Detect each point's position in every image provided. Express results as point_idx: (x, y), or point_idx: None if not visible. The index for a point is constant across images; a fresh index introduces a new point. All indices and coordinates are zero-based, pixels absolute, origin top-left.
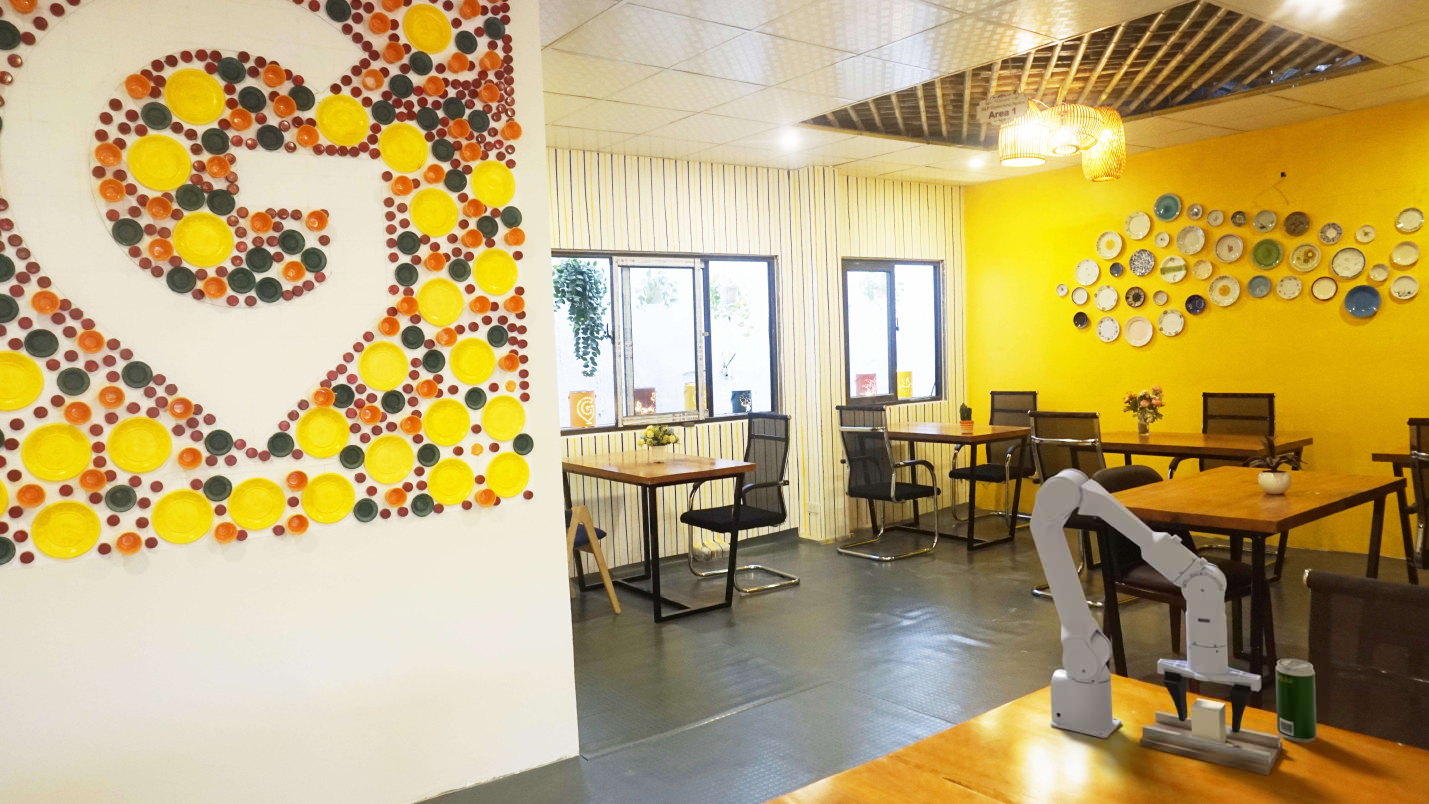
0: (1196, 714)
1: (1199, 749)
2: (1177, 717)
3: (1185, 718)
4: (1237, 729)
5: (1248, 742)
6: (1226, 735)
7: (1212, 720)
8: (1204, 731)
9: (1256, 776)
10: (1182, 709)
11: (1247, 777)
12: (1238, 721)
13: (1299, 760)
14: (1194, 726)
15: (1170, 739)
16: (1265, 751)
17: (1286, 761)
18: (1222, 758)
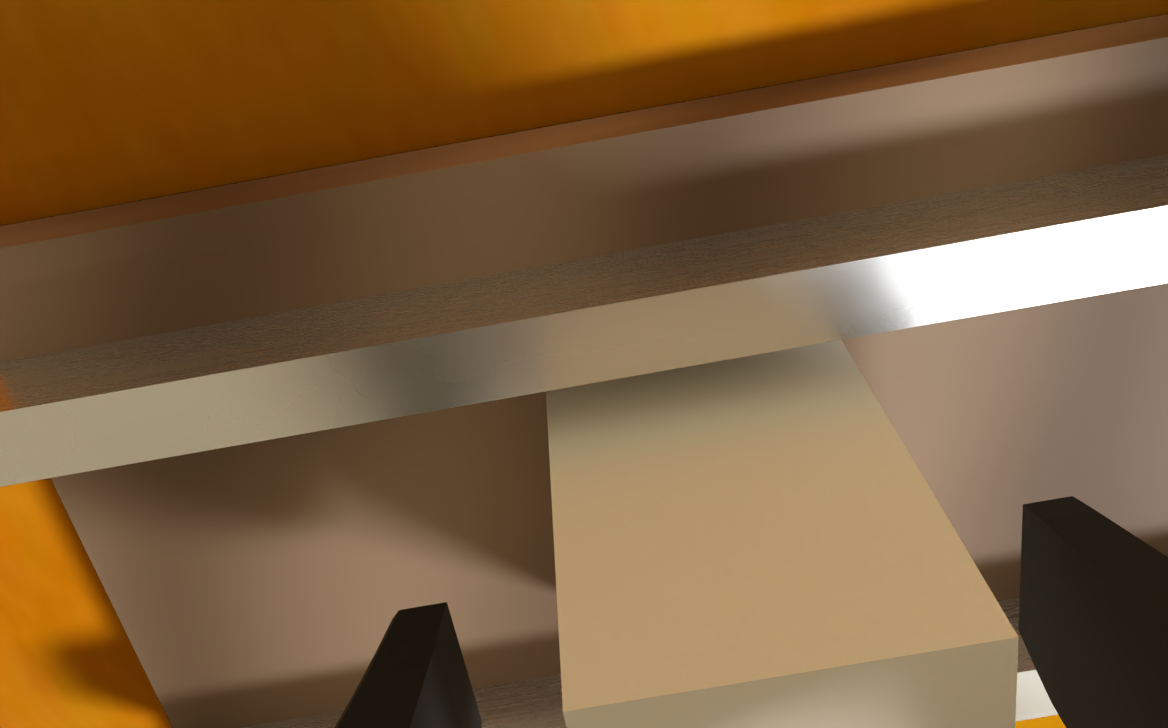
0: (886, 566)
1: (709, 223)
2: None
3: (1025, 576)
4: (381, 641)
5: None
6: None
7: (649, 576)
8: (729, 444)
9: (31, 124)
10: (1115, 606)
11: (72, 26)
12: (339, 723)
13: (18, 689)
14: (861, 443)
15: (1056, 185)
16: (211, 608)
17: (71, 611)
18: (412, 171)
